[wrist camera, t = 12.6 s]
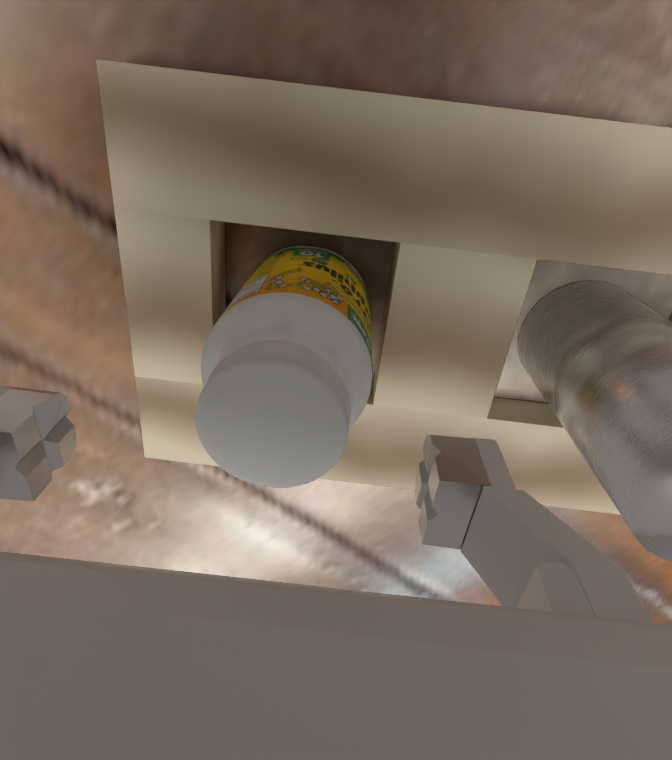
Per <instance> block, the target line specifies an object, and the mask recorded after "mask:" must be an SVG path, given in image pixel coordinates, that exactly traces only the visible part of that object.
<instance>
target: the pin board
mask: <svg viewBox="0 0 672 760" xmlns="http://www.w3.org/2000/svg"><path fill="white" fill-rule="evenodd" d="M96 66H97V74H98V82H99V90H100V98H101V106H102V114H103V122H104V131H105V139H106V147H107V155H108V163H109V171H110V179H111V187H112V195H113V203H114V211H115V219H116V228H117V236H118V244H119V252H120V260H121V268H122V276H123V284H124V292H125V300H126V308H127V316H128V325H129V333H130V341H131V349H132V357H133V365H134V373H135V381H136V389H137V397H138V405H139V413H140V421H141V430H142V438H143V446H144V454H145V457H146V458H154V459H163V460H171V461H179V462H188V463H196V464H204V465H213V466H219V465H218V464H217V463H216V462H215V461H214V460H213V459H212V458H211V457H210V456H209V454H208V453H207V452H206V450H205V449H204V447H203V445H202V443H201V441H200V439H199V437H198V433H197V429H196V423H195V411H196V405H197V402H198V399H199V396H200V394H201V392H202V390H203V388H204V387H203V384H202V377H201V357H202V351H203V348H204V345H205V342H206V339H207V337H208V335H209V333H210V331H211V329H212V328H213V326H214V325H215V324H216V322H217V321H218V319H219V318H220V317H221V315H222V314H223V313H224V311H225V310H226V288H225V222H231V223H240V224H248V225H257V226H265V227H273V228H282V229H290V230H298V231H307V232H315V233H323V234H332V235H340V236H349V237H357V238H365V239H374V240H382V241H390V242H396V244H395V250H394V256H393V262H392V268H391V274H390V280H389V286H388V293H387V299H386V305H385V311H384V317H383V323H382V329H381V335H380V341H379V347H378V353H377V360H376V366H375V372H374V378H373V383H372V385H371V391H370V395H369V398H368V401H367V403H366V406H365V408H364V410H363V411H362V413H361V415H360V416H359V418H358V419H357V420H356V422H355V423H354V424H353V425H352V426H351V427H350V428H349V431H348V438H347V442H346V446H345V448H344V451H343V453H342V455H341V456H340V458H339V460H338V461H337V463H336V464H335V465H334V466H333V467H332V468H331V469H330V470H329V471H328V472H327V473H325V474H324V475H323V476H321V477H319V478H321V479H329V480H337V481H346V482H354V483H362V484H371V485H379V486H387V487H396V488H404V489H412V490H415V483H416V474H417V469H418V465H419V463H420V462H421V461H423V460H424V455H423V444H424V440H425V438H426V435H427V434H434V435H444V436H454V437H464V438H482V439H494V440H495V441H496V442H497V443H498V445H499V448H500V450H501V453H502V455H503V458H504V460H505V462H506V465H507V467H508V470H509V472H510V474H511V477H512V479H513V482H514V484H515V487H516V489H517V490H524V491H525V492H526V493H527V494H529V495H530V496H531V497H532V498H534V499H535V500H536V501H538V502H539V503H540V504H541V505H545V506H554V507H562V508H570V509H579V510H587V511H595V512H604V513H612V514H620V512H619V511H618V509H617V508H616V506H615V505H614V503H613V502H612V500H611V499H610V497H609V496H608V494H607V493H606V491H605V489H604V488H603V486H602V485H601V483H600V482H599V480H598V479H597V477H596V476H595V474H594V473H593V471H592V470H591V468H590V467H589V465H588V464H587V462H586V461H585V459H584V457H583V456H582V454H581V453H580V451H579V450H578V448H577V447H576V445H575V444H574V442H573V441H572V439H571V438H570V436H569V435H568V433H567V432H566V430H565V429H564V427H563V426H562V424H561V422H560V421H559V419H558V418H557V416H556V415H555V413H554V412H553V410H552V409H551V407H550V406H549V404H546V403H537V402H529V401H521V400H512V399H504V398H496V397H494V394H495V391H496V388H497V385H498V382H499V378H500V375H501V372H502V369H503V366H504V363H505V359H506V356H507V353H508V350H509V347H510V344H511V340H512V337H513V334H514V331H515V328H516V325H517V322H518V318H519V315H520V312H521V309H522V306H523V303H524V299H525V296H526V293H527V290H528V287H529V284H530V280H531V277H532V274H533V271H534V268H535V265H536V262H537V259H541V260H549V261H558V262H566V263H574V264H583V265H591V266H600V267H608V268H616V269H625V270H633V271H641V272H650V273H658V274H667V275H672V128H668V127H660V126H652V125H643V124H635V123H626V122H618V121H610V120H601V119H593V118H584V117H576V116H568V115H559V114H551V113H542V112H534V111H526V110H517V109H509V108H500V107H492V106H484V105H475V104H467V103H458V102H450V101H442V100H433V99H425V98H416V97H408V96H400V95H391V94H383V93H374V92H366V91H358V90H349V89H341V88H333V87H324V86H316V85H307V84H299V83H291V82H282V81H274V80H265V79H257V78H249V77H240V76H232V75H223V74H215V73H207V72H198V71H190V70H181V69H173V68H165V67H156V66H148V65H139V64H131V63H123V62H114V61H106V60H97V59H96ZM669 320H670V321H672V314H671V316H670V318H669ZM620 515H621V514H620Z"/></svg>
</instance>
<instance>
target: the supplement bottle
mask: <svg viewBox="0 0 672 760" xmlns="http://www.w3.org/2000/svg"><path fill="white" fill-rule="evenodd" d="M201 377H202V384H203V387H204V388H203V390H202V392H201V394H200V396H199V399H198V402H197V405H196V411H195V423H196V429H197V433H198V437H199V439H200V441H201V443H202V445H203V447H204V449H205V450H206V452H207V453H208V454H209V456H210V457H211V458H212V459H213V460H214V461H215V462H216V463H217V464H218V465H219V466H220V467H221V468H222V469H224V470H225V471H227V472H228V473H229V474H231V475H233V476H235V477H237V478H239V479H241V480H243V481H245V482H248V483H251V484H255V485H259V486H264V487H274V488H287V487H294V486H299V485H302V484H306V483H309V482H311V481H314V480H316V479H318V478H319V477H321V476H323V475H324V474H325V473H327V472H328V471H329V470H330V469H331V468H332V467H333V466H334V465H335V464H336V463H337V461H338V460H339V458H340V456H341V455H342V453H343V451H344V448H345V446H346V442H347V438H348V431H349V428H350V427H351V426H352V425H353V424H354V423H355V422H356V420H357V419H358V418H359V416H360V415H361V413H362V411H363V410H364V408H365V406H366V403H367V401H368V398H369V395H370V391H371V385H372V379H373V368H372V351H371V322H370V303H369V296H368V291H367V288H366V285H365V283H364V281H363V279H362V277H361V276H360V274H359V273H358V271H357V270H356V269H355V268H354V267H353V266H352V265H351V263H349V262H348V261H347V260H346V259H345V258H343V257H342V256H341V255H339V254H337V253H335V252H333V251H330V250H327V249H323V248H319V247H313V246H292V247H287V248H284V249H281V250H279V251H277V252H275V253H273V254H272V255H270V256H269V257H268V258H266V259H265V260H264V261H263V262H262V263H261V264H260V265H259V266H258V267H257V269H256V270H255V271H254V272H253V274H252V275H251V277H250V278H249V279H248V280H247V282H246V283H245V284H244V286H243V287H242V288H241V290H240V291H239V292H238V294H237V295H236V297H235V298H234V299H233V301H232V302H231V303H230V305H229V306H228V307H227V309H226V310H225V311H224V313H223V314H222V315H221V317H220V318H219V319H218V321H217V322H216V324H215V325H214V326H213V328H212V329H211V331H210V333H209V335H208V337H207V339H206V342H205V345H204V348H203V351H202V357H201Z"/></svg>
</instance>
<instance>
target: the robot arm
mask: <svg viewBox="0 0 672 760" xmlns="http://www.w3.org/2000/svg"><path fill="white" fill-rule="evenodd" d="M69 411H70V406H69V403H68V399H67V397H66V396H65V395H63V394H62V393H58V392H50V391H42V390H35V389H27V388H20V387H17V388H16V387H11V386H2V385H0V499H11V500H23V501H34V500H35V499H36V498H37V497H38V496H39V495H40V493H41V492H42V491H43V490H44V489H45V488H46V486H47V485H48V484H49V483H50V482H51V481H52V474H51V472H52V471H54V470H56V469H58V468H60V467H62V466H64V465H65V464H66V463H67V462H68V460H69V459H70V458H71V456H72V454H73V451H74V448H75V446H76V431H75V427H74V425H73V424H72V423H71V422H70V421H69V420H68V419H67V418H66V415H67V414H68V412H69ZM423 455H424V460H423V461H421V462H420V463H419V465H418V469H417V474H416V483H415V498H416V505H417V506H418V507H419V508H420V509H421V511H420V515H419V519H418V521H419V528H420V536H421V543H422V544H425V545H432V546H439V547H447V548H454V549H461V552H462V554H463V555H464V556H465V557H466V559H467V560H468V561H469V563H470V564H471V565H472V566H473V568H474V569H475V570H476V572H477V573H478V574H479V575H480V577H481V578H482V579H483V581H484V582H485V583H486V584H487V586H488V587H489V588H490V590H491V591H492V592H493V593H494V595H495V596H496V597H497V599H498V600H499V601H500V602H501V604H502V605H503V606H504V607H502V606H493V605H484V604H475V603H466V602H457V601H447V600H438V599H429V598H419V597H410V596H401V595H391V594H382V593H373V592H363V591H354V590H345V589H336V588H327V587H318V586H310V585H301V584H292V583H283V582H274V581H265V580H256V579H247V578H238V577H229V576H220V575H211V574H202V573H193V572H183V571H174V570H165V569H156V568H147V567H138V566H128V565H119V564H110V563H101V562H92V561H82V560H73V559H64V558H55V557H46V556H37V555H28V554H19V553H9V552H0V760H672V625H666V624H657V623H653V622H652V620H651V618H650V616H649V615H648V613H647V611H646V609H645V607H644V606H643V604H642V602H641V600H640V599H639V597H638V595H637V593H636V591H635V590H634V588H633V586H632V584H631V583H630V581H629V579H628V577H627V576H626V574H625V572H624V570H623V569H622V568H621V567H620V566H618V565H617V564H616V563H615V562H613V561H612V560H611V559H610V558H608V557H607V556H606V555H605V554H603V553H602V552H601V551H600V550H598V549H597V548H596V547H594V546H593V545H592V544H591V543H589V542H588V541H587V540H586V539H584V538H583V537H582V536H581V535H579V534H578V533H577V532H575V531H574V530H573V529H572V528H570V527H569V526H568V525H567V524H565V523H564V522H563V521H562V520H560V519H559V518H558V517H557V516H555V515H554V514H553V513H551V512H550V511H549V510H548V509H546V508H545V507H544V506H543V505H541V504H540V503H539V502H538V501H536V500H535V499H534V498H532V497H531V496H530V495H529V494H527V493H526V492H525V491H524V490H517V489H516V487H515V484H514V482H513V479H512V477H511V474H510V472H509V470H508V467H507V465H506V462H505V460H504V458H503V455H502V453H501V450H500V448H499V445H498V443H497V442H496V441H495V440H494V439H482V438H464V437H454V436H444V435H434V434H427V435H426V438H425V440H424V444H423Z"/></svg>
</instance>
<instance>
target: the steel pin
mask: <svg viewBox="0 0 672 760" xmlns="http://www.w3.org/2000/svg"><path fill="white" fill-rule="evenodd" d="M518 353H519V357H520V360H521V362H522V364H523V366H524V368H525V369H526V371H527V372H528V374H529V375H530V377H531V378H532V380H533V381H534V383H535V384H536V386H537V387H538V389H539V390H540V392H541V394H542V395H543V397H544V398H545V400H546V401H547V403H548V404H549V406H550V407H551V409H552V410H553V412H554V413H555V415H556V416H557V418H558V419H559V421H560V422H561V424H562V426H563V427H564V429H565V430H566V432H567V433H568V435H569V436H570V438H571V439H572V441H573V442H574V444H575V445H576V447H577V448H578V450H579V451H580V453H581V454H582V456H583V457H584V459H585V461H586V462H587V464H588V465H589V467H590V468H591V470H592V471H593V473H594V474H595V476H596V477H597V479H598V480H599V482H600V483H601V485H602V486H603V488H604V489H605V491H606V493H607V494H608V496H609V497H610V499H611V500H612V502H613V503H614V505H615V506H616V508H617V509H618V511H619V512H620V514H621V515H622V517H623V518H624V520H625V521H626V523H627V524H628V526H629V528H630V529H631V531H632V532H633V534H634V535H635V537H636V538H637V539H638V541H639V542H640V543H641V544H642V545H643V546H644V547H645V548H646V549H648V550H649V551H650V552H652V553H653V554H655V555H657V556H659V557H661V558H664V559H666V560H669V561H672V321H670V320H668V319H667V318H665V317H664V316H662V315H661V314H659V313H657V312H656V311H654V310H653V309H651V308H650V307H648V306H646V305H645V304H643V303H642V302H640V301H639V300H637V299H635V298H634V297H632V296H631V295H629V294H628V293H626V292H624V291H623V290H621V289H620V288H618V287H616V286H614V285H611V284H609V283H605V282H600V281H581V282H576V283H572V284H568V285H565V286H563V287H561V288H558V289H556V290H555V291H553V292H551V293H549V294H548V295H547V296H545V297H544V298H542V299H541V300H540V301H539V302H538V303H537V304H536V305H535V306H534V307H533V308H532V309H531V311H530V312H529V313H528V315H527V316H526V318H525V320H524V322H523V324H522V326H521V329H520V332H519V336H518Z"/></svg>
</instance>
